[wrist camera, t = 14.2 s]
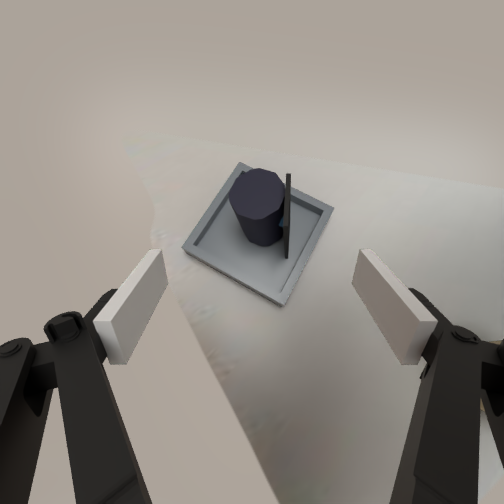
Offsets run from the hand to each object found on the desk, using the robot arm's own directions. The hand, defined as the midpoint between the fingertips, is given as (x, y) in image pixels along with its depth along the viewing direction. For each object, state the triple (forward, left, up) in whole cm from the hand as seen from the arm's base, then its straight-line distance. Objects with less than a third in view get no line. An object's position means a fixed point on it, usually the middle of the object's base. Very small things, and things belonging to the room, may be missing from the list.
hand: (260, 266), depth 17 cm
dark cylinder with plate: (+3, -7, -14) cm, 16 cm away
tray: (+3, -7, -15) cm, 17 cm away
